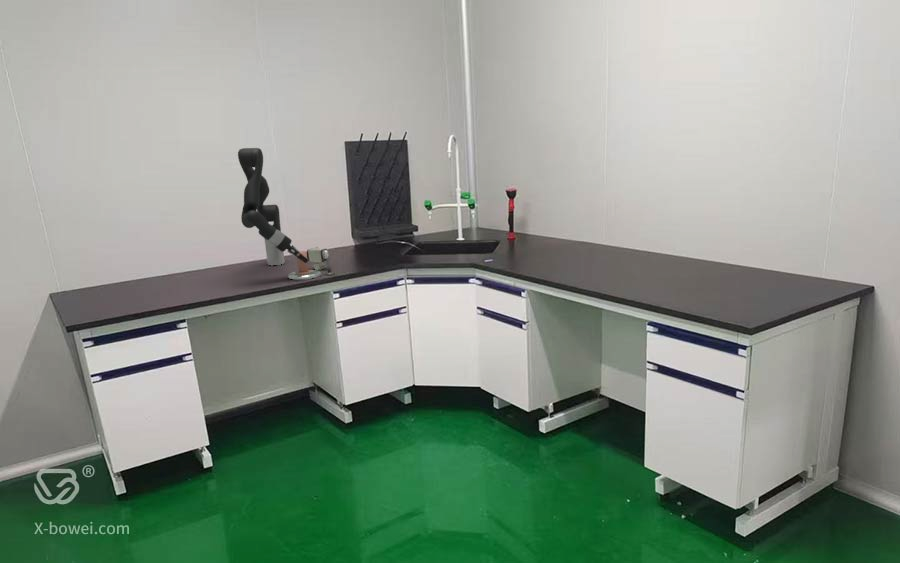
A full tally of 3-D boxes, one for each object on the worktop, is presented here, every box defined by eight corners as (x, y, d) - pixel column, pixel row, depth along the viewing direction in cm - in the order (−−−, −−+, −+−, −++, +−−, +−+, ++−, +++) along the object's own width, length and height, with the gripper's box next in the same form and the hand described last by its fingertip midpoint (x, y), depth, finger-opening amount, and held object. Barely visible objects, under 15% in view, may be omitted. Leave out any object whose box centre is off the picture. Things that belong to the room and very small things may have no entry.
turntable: (282, 277, 291) (282, 273, 291) (311, 271, 301) (311, 268, 300) (296, 282, 279) (296, 278, 279) (326, 275, 289) (326, 272, 288)
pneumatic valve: (326, 270, 300) (323, 248, 297) (307, 270, 304) (304, 247, 301) (331, 268, 305) (329, 246, 302) (313, 267, 309) (310, 245, 306)
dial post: (323, 274, 292) (321, 249, 289) (331, 272, 295) (329, 248, 292) (328, 275, 289) (325, 250, 286) (335, 274, 292) (333, 249, 289)
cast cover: (293, 273, 290) (290, 252, 287) (307, 270, 295) (305, 249, 292) (300, 276, 284) (297, 254, 281) (314, 273, 289) (312, 251, 286)
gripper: (286, 236, 275) (313, 256, 283) (281, 232, 288) (307, 252, 295) (276, 248, 274) (303, 268, 282) (272, 244, 287) (298, 263, 294)
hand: (305, 260), depth 288 cm, fingers open, 8 cm apart
